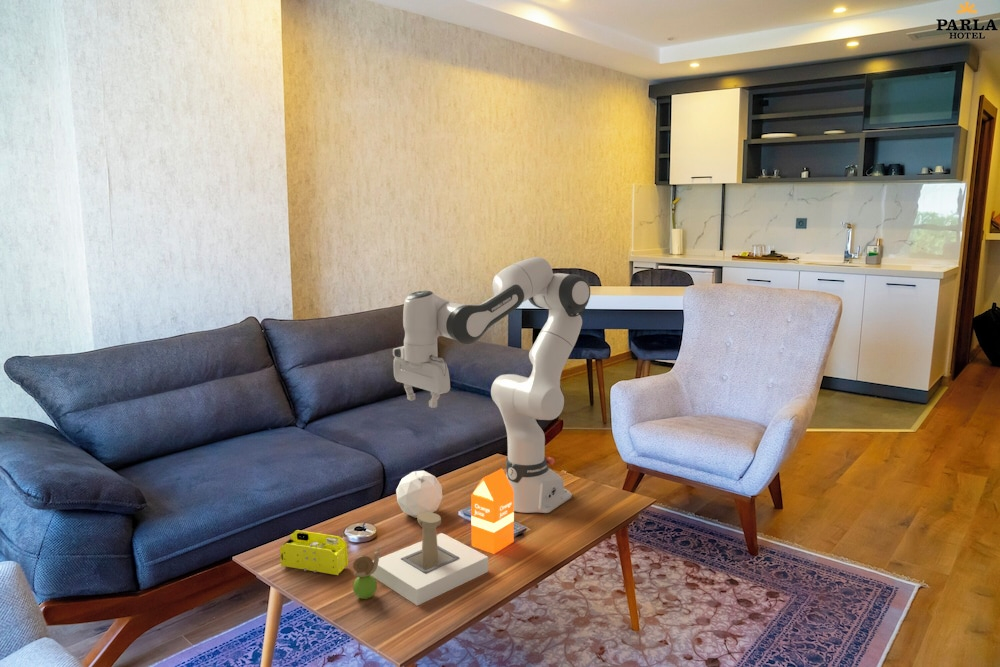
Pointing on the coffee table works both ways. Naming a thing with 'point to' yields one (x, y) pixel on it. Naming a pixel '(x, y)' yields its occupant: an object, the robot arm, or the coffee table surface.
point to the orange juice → (492, 513)
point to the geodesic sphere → (419, 493)
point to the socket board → (422, 584)
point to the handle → (429, 538)
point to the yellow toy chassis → (315, 552)
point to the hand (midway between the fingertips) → (422, 403)
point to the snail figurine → (365, 575)
